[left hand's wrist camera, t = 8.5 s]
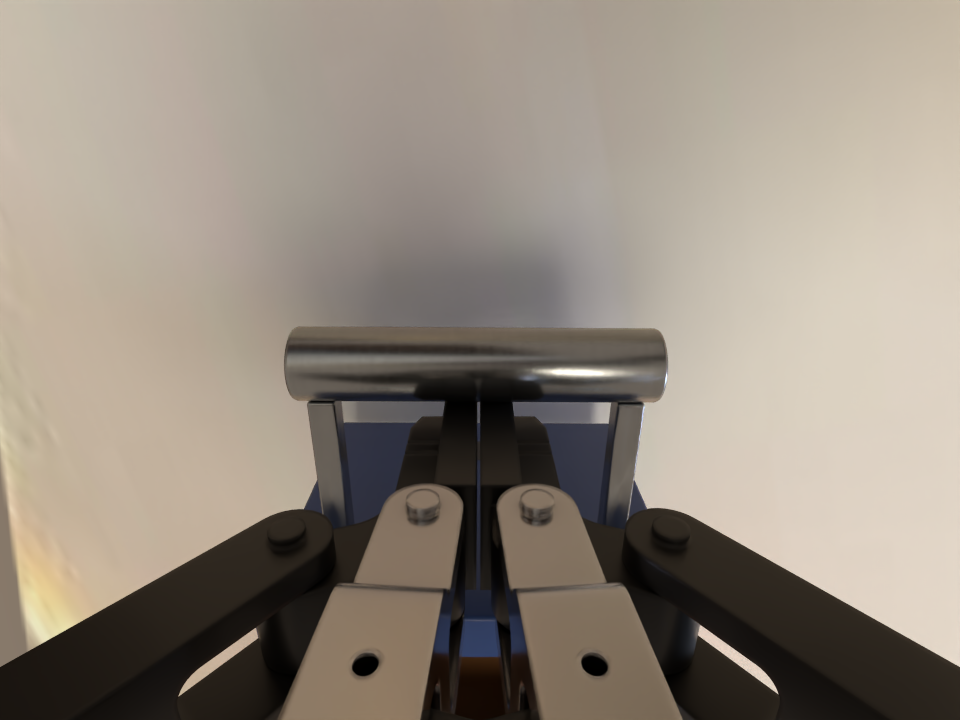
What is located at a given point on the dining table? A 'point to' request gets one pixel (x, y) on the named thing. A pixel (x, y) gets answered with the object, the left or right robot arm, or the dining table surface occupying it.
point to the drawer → (477, 378)
